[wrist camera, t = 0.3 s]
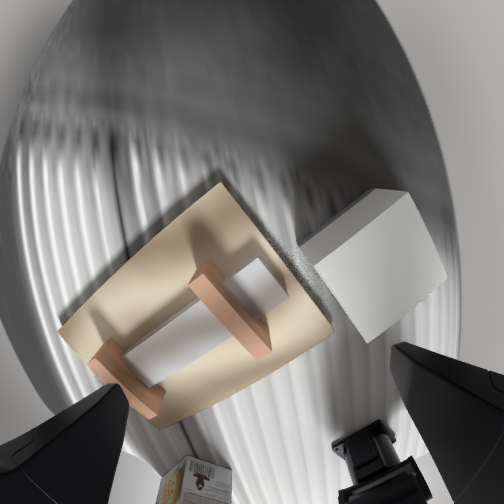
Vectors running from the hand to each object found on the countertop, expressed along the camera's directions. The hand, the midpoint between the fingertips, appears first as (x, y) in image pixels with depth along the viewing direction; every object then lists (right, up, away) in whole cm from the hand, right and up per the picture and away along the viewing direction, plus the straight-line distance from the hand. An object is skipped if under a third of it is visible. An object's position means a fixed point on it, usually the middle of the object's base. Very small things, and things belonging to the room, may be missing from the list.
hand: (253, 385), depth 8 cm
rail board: (-6, -2, +14) cm, 15 cm away
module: (+8, +4, +13) cm, 15 cm away
